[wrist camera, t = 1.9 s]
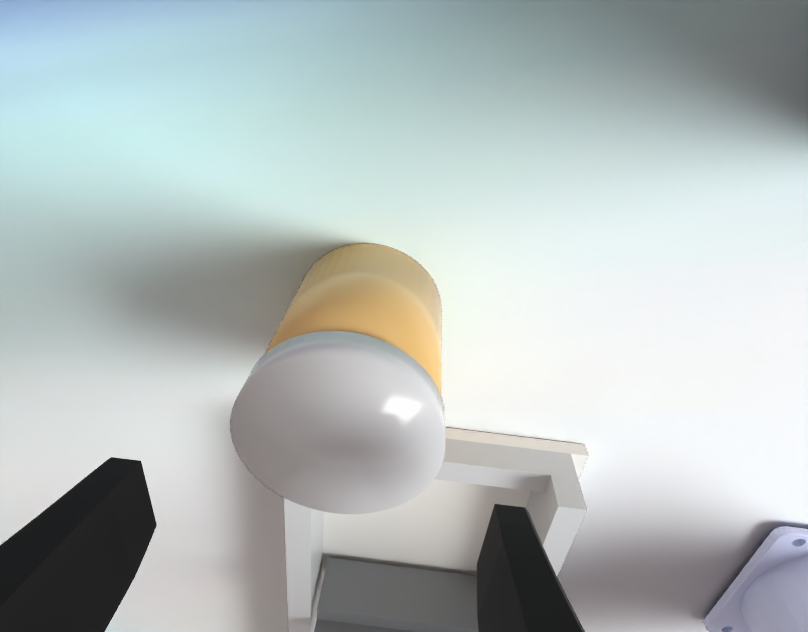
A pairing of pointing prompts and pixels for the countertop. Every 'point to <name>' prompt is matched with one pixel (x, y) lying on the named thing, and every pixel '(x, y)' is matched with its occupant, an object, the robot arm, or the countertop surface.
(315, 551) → the tray
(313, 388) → the amber jar
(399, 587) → the pusher
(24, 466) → the countertop surface
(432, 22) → the countertop surface
